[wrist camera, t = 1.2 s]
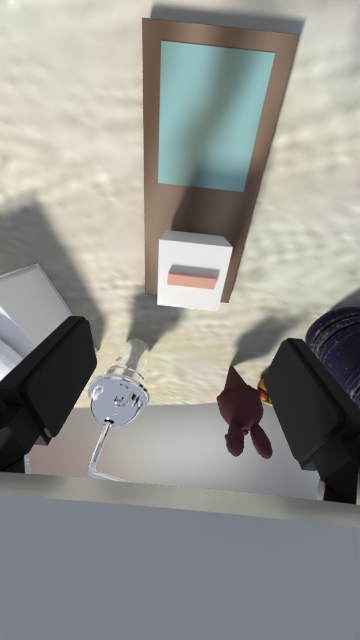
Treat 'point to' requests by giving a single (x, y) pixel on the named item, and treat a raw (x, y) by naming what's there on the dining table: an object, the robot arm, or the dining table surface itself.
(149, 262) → the post stand
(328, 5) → the dining table surface
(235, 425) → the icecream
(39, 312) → the butter dish
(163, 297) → the white cube with handle
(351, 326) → the storage jar
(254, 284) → the dining table surface
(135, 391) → the cup with straw
